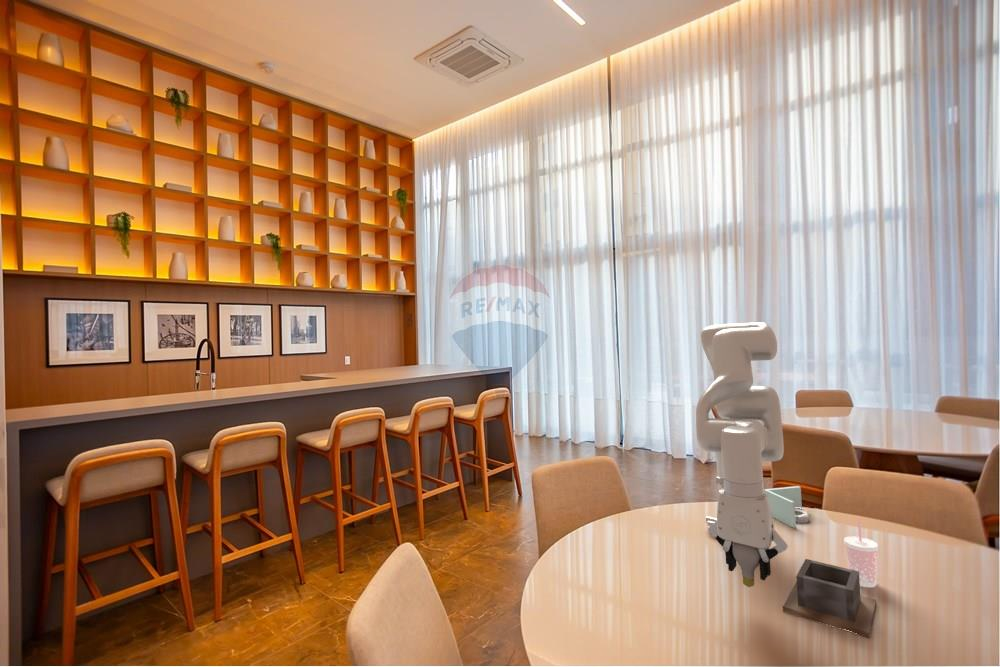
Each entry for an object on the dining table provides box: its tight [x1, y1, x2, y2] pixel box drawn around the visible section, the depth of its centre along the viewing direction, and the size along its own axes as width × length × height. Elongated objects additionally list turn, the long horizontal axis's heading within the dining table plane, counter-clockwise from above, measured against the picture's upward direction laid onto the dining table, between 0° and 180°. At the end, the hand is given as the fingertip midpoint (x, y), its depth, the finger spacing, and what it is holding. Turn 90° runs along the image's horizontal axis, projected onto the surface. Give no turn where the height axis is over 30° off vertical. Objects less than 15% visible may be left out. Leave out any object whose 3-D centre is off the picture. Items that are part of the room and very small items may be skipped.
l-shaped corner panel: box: [764, 485, 810, 529], centre depth 143 cm, size 12×12×8 cm
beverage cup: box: [843, 518, 879, 588], centre depth 106 cm, size 6×6×14 cm
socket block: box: [782, 558, 877, 639], centre depth 97 cm, size 14×14×7 cm
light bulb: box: [733, 543, 761, 588], centre depth 98 cm, size 6×6×10 cm
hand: (748, 571), depth 98 cm, fingers closed on light bulb, 5 cm apart
